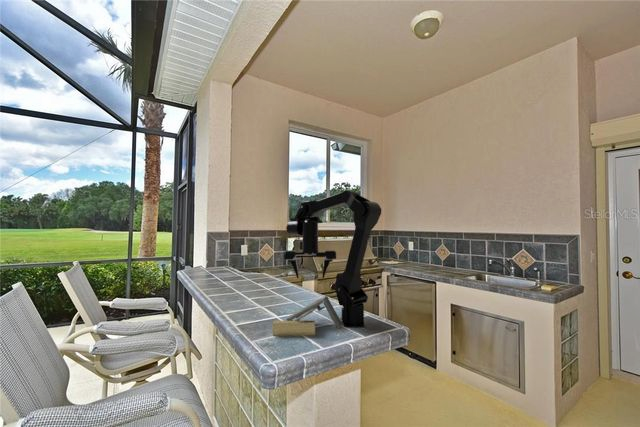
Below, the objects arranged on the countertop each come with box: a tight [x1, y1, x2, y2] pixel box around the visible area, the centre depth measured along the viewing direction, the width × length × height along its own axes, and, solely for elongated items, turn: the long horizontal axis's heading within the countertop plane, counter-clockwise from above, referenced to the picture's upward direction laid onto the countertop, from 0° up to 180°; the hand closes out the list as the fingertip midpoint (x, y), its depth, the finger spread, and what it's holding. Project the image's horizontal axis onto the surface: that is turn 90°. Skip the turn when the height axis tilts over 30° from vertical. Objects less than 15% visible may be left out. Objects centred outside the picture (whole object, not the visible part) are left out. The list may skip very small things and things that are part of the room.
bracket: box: [286, 295, 343, 329], centre depth 87 cm, size 10×14×10 cm
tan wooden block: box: [272, 320, 316, 337], centre depth 82 cm, size 12×3×4 cm, turn 90°
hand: (310, 278), depth 103 cm, fingers open, 9 cm apart
